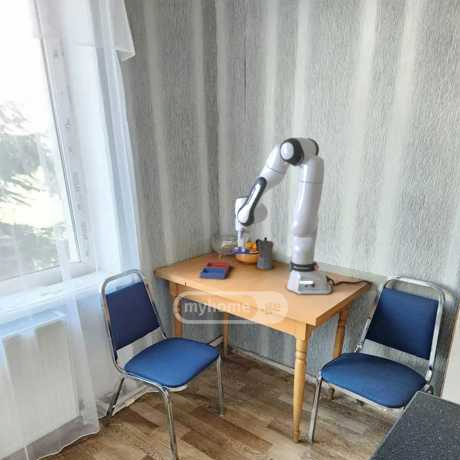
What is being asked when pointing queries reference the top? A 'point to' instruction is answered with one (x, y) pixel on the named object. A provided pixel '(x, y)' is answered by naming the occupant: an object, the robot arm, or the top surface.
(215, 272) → the blue bin
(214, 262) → the red bin
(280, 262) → the top surface
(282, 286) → the top surface
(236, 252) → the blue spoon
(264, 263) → the coffeepot
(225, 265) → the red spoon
